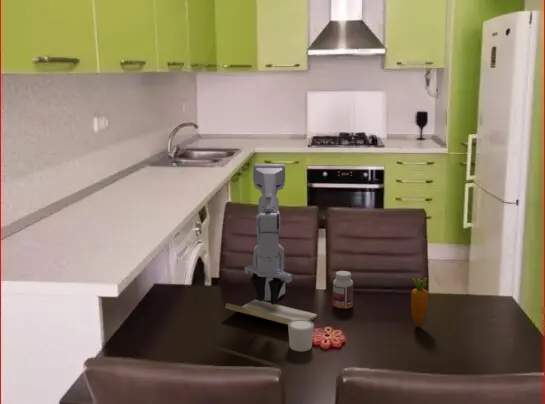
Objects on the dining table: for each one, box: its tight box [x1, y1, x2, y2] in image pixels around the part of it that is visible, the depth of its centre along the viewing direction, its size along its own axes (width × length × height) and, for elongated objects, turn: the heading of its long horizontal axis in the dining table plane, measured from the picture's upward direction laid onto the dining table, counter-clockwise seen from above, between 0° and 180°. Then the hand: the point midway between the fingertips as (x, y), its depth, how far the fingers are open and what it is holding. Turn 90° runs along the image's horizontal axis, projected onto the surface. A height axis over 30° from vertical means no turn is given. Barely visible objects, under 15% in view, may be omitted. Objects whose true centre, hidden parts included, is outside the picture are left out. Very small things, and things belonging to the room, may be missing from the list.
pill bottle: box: [332, 270, 354, 309], centre depth 189 cm, size 6×6×11 cm
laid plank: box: [241, 298, 318, 322], centre depth 183 cm, size 8×22×2 cm, turn 57°
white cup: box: [287, 320, 315, 352], centre depth 160 cm, size 7×7×7 cm
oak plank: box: [224, 302, 294, 326], centre depth 176 cm, size 8×22×2 cm, turn 58°
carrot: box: [410, 277, 429, 328], centre depth 174 cm, size 5×5×15 cm
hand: (267, 301), depth 171 cm, fingers open, 4 cm apart
